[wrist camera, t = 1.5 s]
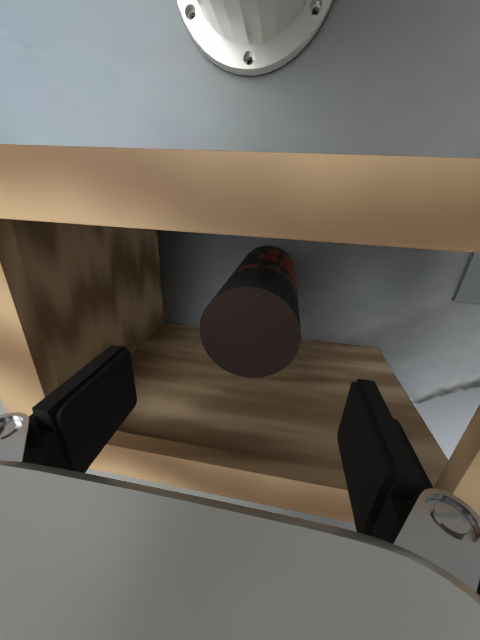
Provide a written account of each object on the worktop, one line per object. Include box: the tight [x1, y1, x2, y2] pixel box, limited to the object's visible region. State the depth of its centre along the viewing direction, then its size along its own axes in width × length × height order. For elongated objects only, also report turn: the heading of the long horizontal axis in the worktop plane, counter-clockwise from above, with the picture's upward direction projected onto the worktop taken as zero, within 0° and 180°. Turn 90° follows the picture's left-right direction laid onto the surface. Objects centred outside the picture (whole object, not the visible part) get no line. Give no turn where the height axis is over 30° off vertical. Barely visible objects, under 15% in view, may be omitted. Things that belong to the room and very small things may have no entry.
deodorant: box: [200, 246, 301, 378], centre depth 22 cm, size 6×6×15 cm
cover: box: [0, 144, 480, 523], centre depth 20 cm, size 17×27×19 cm, turn 87°
